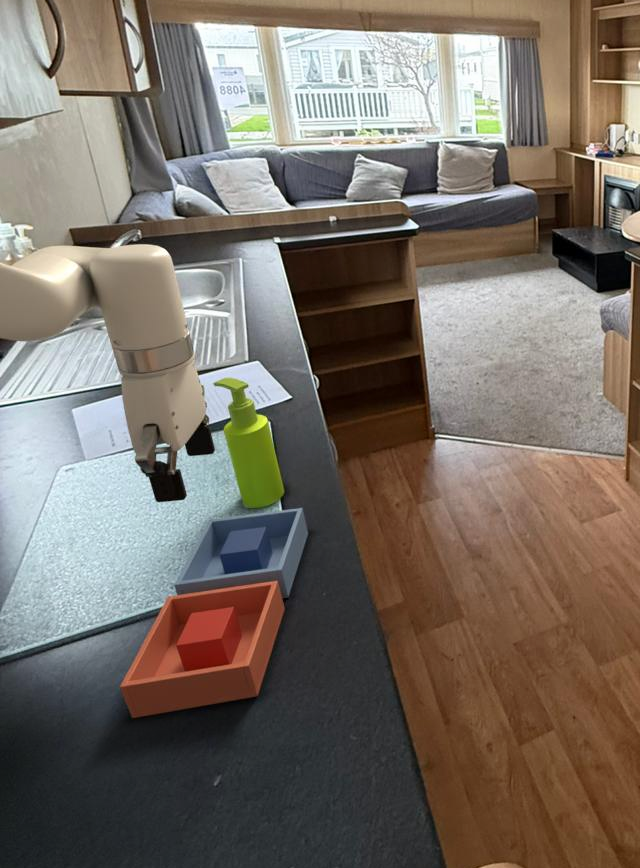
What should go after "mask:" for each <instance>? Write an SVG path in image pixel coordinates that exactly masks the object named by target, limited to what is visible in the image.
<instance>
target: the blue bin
mask: <svg viewBox="0 0 640 868" xmlns="http://www.w3.org/2000/svg"><path fill="white" fill-rule="evenodd" d="M260 527H266V528H267V532H268V536H269V540H270V544H271V548H272V552H273V553H272V556H271V559H270V561H269V564H268V567H267V569H261V570H254V571H247V572H240V573H233V574H226V575H225V573H224V569H223V566H222V562H221V559H220V555H219V554H220V552H221V550H222V548H223V546H224V544H225V542H226V540H227V537H228V535H229V533H230V532H231V531H238V530H245V529H253V528H260ZM308 536H309V531H308V527H307V522H306V518H305V513H304V509H303V507H298V508H292V509H282V510H276V511H275V510H274V511H267V512H259V513H251V514H244V515H235V516H228V517H220V518H213V519H211V518H210V519H208V521H207V522H206V525H205V526H204V528H203V530H202V532H201V534H200V535H199V538H198V539H197V541H196V543H195V545H194V547H193V549H192V551H191V553H190V555H189V556H188V558H187V559H186V562H185V564H184V566H183V568H182V569H181V572H180V573H179V575H178V577H177V579H176V580H175V582H174V589H175V592H176V595H182V594H189V593H196V592H203V591H210V590H217V589H224V588H230V587H237V586H244V585H251V584H258V583H265V582H273V581H278V584H279V588H280V592H281V596H282V599H288V598H289V596H290V594H291V590H292V587H293V583H294V580H295V577H296V574H297V571H298V568H299V564H300V562H301V558H302V555H303V551H304V548H305V546H306V542H307V539H308Z"/></svg>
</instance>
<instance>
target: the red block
mask: <svg viewBox="0 0 640 868" xmlns="http://www.w3.org/2000/svg"><path fill="white" fill-rule="evenodd" d="M241 637H242V634H241V630H240V627H239V623H238V620H237V617H236V613H235V610H234V607H230V608H223V609H217V610H210V611H203V612H197V613H191V615H190V617H189V619H188V621H187V624H186V626H185V628H184V630H183V632H182V634H181V636H180V638H179V640H178V642H177V645H176V647H177V650H178V653H179V656H180V659H181V661H182V664H183V667H184V670H185V672H188V671H194V670H200V669H206V668H212V667H218V666H224V665H230V664H232V661H233V659H234V656H235V653H236V650H237V648H238V645H239V642H240V640H241Z"/></svg>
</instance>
